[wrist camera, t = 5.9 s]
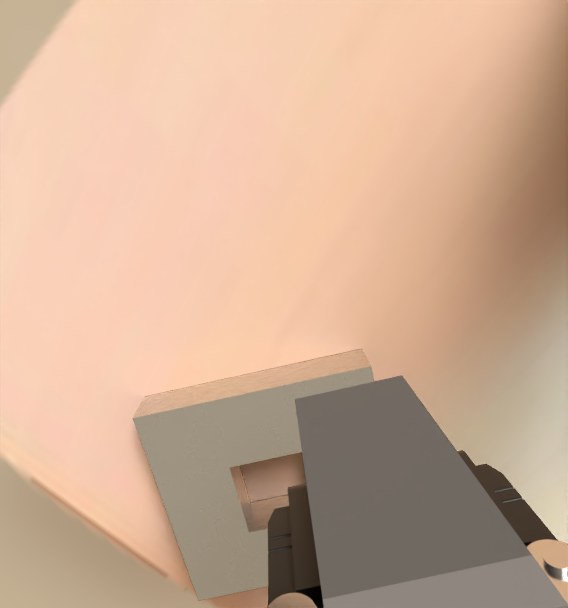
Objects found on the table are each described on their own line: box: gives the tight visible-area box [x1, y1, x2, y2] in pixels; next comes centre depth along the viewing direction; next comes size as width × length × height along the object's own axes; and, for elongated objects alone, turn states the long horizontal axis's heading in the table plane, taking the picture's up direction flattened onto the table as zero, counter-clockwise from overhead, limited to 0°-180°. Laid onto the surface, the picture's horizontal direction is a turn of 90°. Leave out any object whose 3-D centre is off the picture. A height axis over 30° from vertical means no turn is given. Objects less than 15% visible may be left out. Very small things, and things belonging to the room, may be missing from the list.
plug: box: [295, 376, 568, 608], centre depth 12 cm, size 4×4×9 cm
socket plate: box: [133, 349, 374, 601], centre depth 32 cm, size 16×16×4 cm
